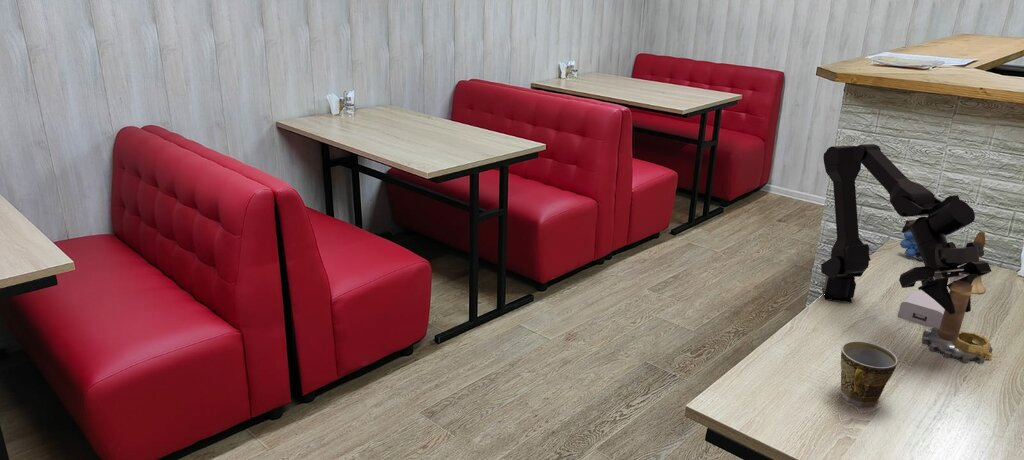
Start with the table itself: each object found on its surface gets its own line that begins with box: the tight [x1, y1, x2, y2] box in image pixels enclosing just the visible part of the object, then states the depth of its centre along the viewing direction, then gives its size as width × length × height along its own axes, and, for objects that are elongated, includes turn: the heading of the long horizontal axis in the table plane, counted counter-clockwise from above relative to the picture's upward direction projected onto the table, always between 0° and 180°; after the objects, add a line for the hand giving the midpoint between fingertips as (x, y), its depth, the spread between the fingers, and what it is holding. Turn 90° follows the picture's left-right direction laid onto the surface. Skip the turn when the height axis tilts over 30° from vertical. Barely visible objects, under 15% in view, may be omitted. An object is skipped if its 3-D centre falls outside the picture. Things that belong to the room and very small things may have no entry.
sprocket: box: [921, 327, 994, 364], centre depth 160 cm, size 14×14×3 cm
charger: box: [897, 289, 945, 329], centre depth 176 cm, size 5×9×15 cm
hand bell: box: [949, 230, 986, 295], centre depth 188 cm, size 8×8×16 cm
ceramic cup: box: [840, 340, 899, 408], centre depth 139 cm, size 13×10×10 cm
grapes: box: [899, 232, 948, 261], centre depth 206 cm, size 12×7×12 cm, turn 52°
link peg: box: [938, 280, 973, 341], centre depth 149 cm, size 4×4×12 cm
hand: (960, 312), depth 148 cm, fingers closed on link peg, 4 cm apart
